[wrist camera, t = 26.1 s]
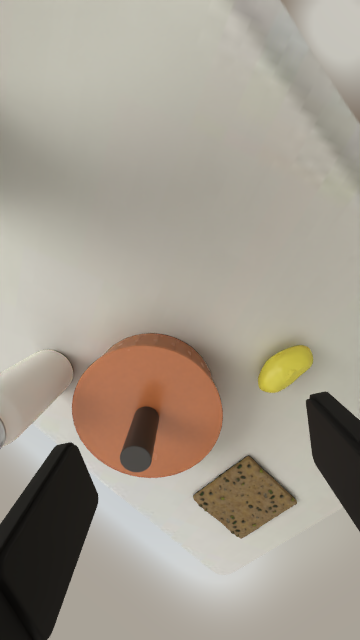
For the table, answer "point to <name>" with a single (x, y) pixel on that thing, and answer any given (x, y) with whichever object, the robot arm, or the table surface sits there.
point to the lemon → (284, 368)
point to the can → (30, 391)
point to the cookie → (244, 498)
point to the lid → (147, 411)
